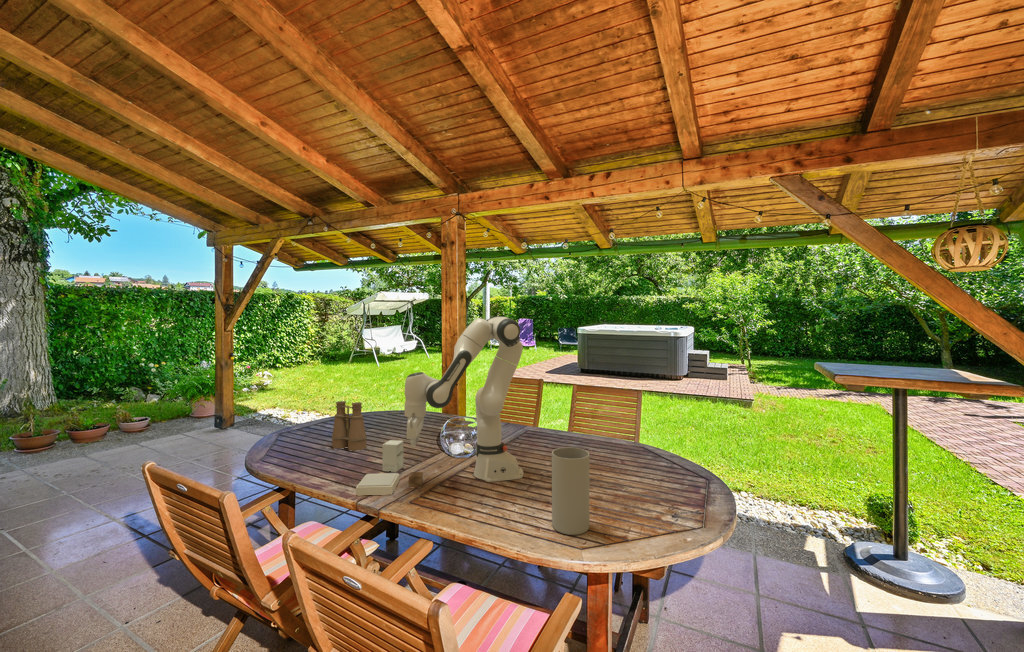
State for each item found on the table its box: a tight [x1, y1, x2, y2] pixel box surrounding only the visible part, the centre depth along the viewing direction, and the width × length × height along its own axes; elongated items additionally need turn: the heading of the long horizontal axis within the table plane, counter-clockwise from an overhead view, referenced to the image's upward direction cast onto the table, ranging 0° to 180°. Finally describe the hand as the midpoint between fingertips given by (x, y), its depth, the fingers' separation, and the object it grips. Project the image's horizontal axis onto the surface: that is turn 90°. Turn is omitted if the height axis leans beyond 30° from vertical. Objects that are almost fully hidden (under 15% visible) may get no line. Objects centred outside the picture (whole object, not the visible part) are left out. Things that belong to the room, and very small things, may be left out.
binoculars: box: [330, 400, 368, 451], centre depth 229 cm, size 21×10×25 cm, turn 70°
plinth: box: [355, 472, 400, 496], centre depth 174 cm, size 14×14×4 cm
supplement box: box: [381, 439, 404, 473], centre depth 197 cm, size 7×7×13 cm
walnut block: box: [408, 471, 424, 488], centre depth 177 cm, size 5×5×5 cm
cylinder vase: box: [551, 446, 590, 536], centre depth 142 cm, size 12×12×25 cm
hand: (415, 444), depth 177 cm, fingers open, 8 cm apart
